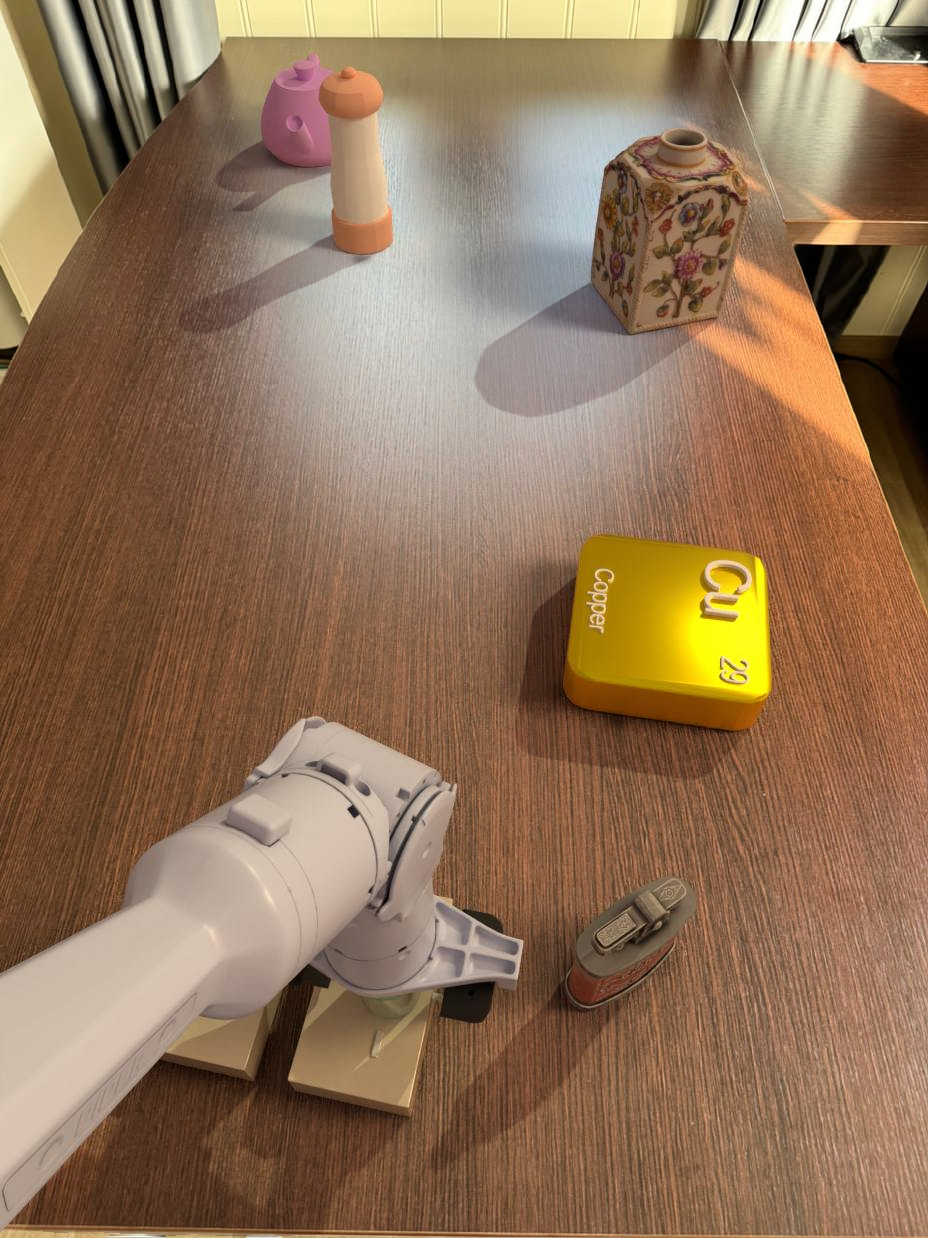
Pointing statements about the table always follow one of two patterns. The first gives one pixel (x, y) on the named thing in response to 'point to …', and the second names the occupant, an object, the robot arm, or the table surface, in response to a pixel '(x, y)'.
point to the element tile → (669, 632)
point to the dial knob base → (362, 1050)
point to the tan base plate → (225, 1043)
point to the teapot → (297, 116)
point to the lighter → (628, 942)
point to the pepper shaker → (356, 162)
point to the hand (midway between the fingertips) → (390, 983)
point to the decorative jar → (668, 230)
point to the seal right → (391, 1005)
